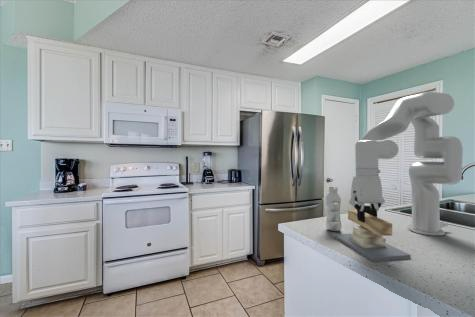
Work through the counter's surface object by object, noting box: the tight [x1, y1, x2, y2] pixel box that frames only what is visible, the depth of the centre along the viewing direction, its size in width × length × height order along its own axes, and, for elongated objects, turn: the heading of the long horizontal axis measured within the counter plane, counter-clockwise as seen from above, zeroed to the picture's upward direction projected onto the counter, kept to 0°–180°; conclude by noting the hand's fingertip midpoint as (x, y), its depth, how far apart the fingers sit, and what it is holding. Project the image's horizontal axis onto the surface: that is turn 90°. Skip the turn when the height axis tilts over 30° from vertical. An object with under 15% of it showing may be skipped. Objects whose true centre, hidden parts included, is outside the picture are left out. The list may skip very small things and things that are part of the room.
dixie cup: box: [360, 203, 371, 214], centre depth 108 cm, size 8×8×11 cm
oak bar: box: [347, 208, 393, 237], centre depth 83 cm, size 4×20×4 cm, turn 2°
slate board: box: [333, 233, 412, 263], centre depth 83 cm, size 14×22×1 cm, turn 8°
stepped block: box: [350, 225, 387, 248], centre depth 83 cm, size 9×7×6 cm
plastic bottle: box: [325, 186, 343, 232], centre depth 101 cm, size 6×7×20 cm
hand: (367, 220), depth 83 cm, fingers closed on oak bar, 4 cm apart
